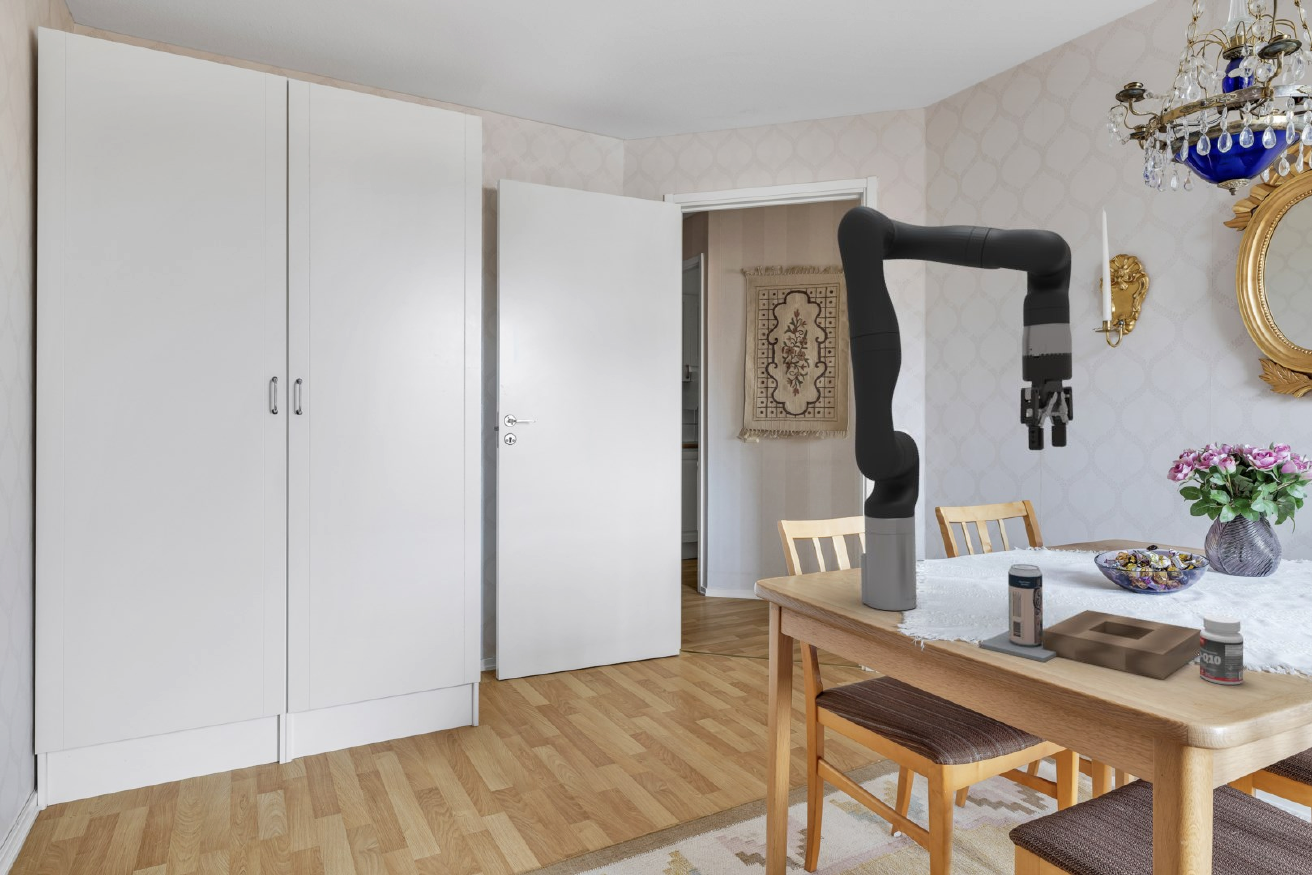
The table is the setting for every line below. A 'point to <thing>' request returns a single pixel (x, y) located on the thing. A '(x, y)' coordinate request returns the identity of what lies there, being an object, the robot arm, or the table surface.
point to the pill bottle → (1221, 650)
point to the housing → (1123, 643)
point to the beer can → (1025, 605)
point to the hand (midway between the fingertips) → (1047, 448)
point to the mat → (1017, 648)
